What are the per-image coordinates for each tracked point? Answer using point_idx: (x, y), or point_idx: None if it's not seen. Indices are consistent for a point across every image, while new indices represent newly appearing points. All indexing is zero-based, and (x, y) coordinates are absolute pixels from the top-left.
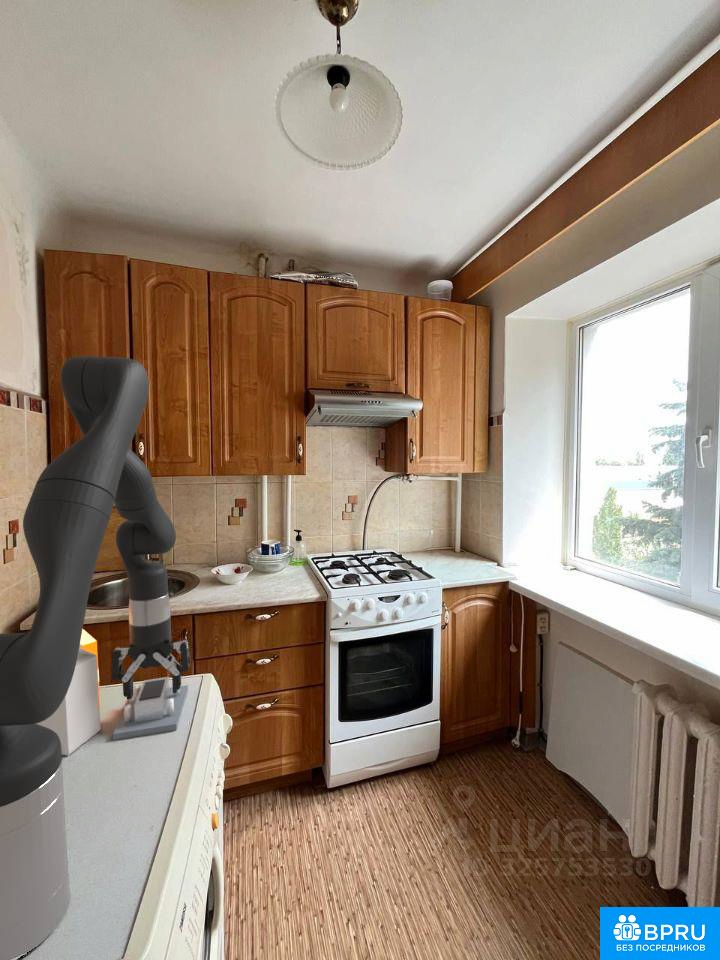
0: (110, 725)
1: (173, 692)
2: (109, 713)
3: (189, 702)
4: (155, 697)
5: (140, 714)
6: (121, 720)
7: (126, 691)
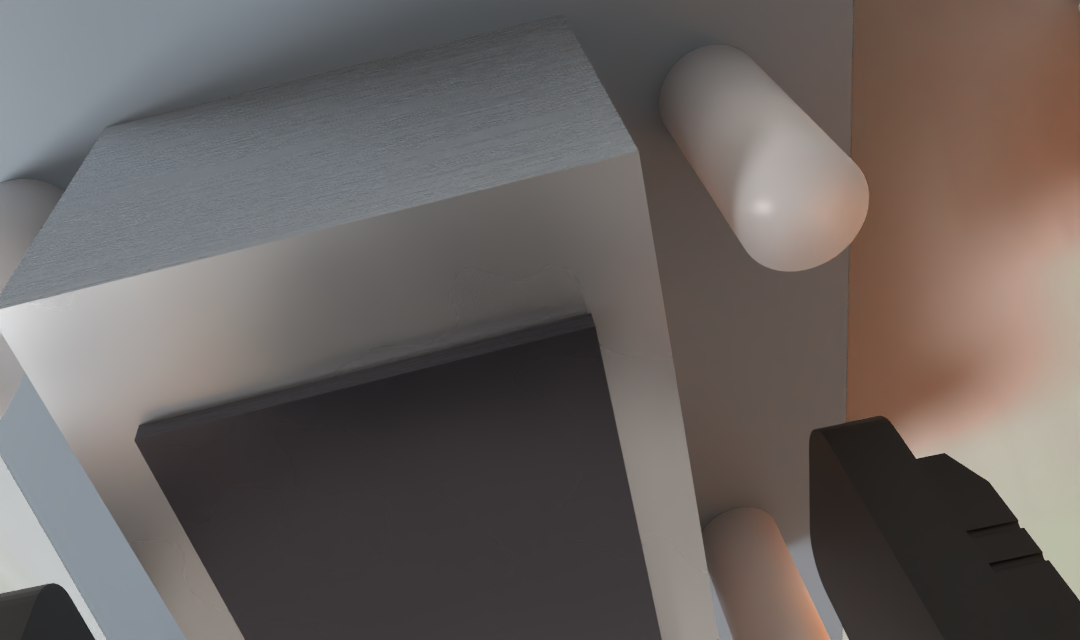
0: (956, 116)
1: (27, 592)
2: (1029, 358)
3: (36, 549)
4: (240, 396)
5: (484, 86)
6: (824, 116)
7: (958, 523)
